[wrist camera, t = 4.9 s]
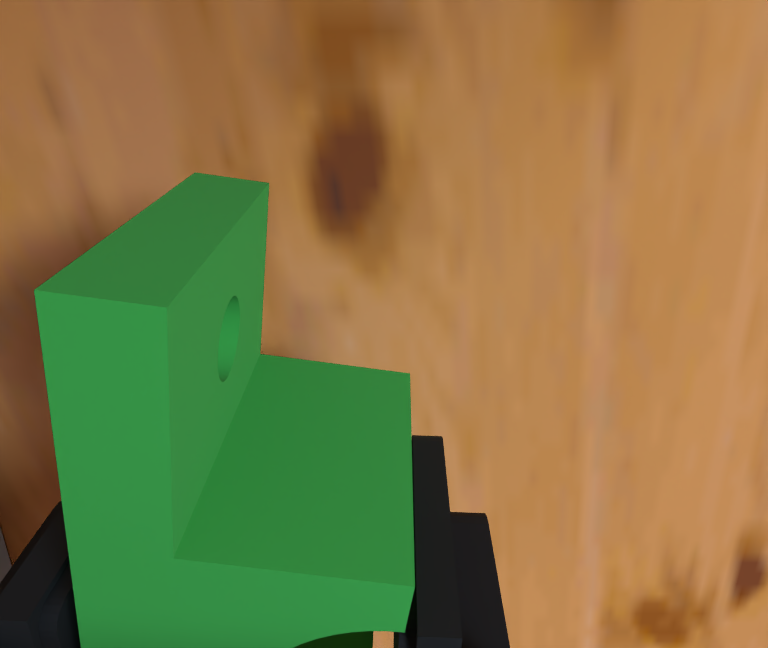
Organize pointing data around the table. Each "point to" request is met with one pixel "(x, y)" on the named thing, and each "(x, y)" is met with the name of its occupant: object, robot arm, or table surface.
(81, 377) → the pipe clamp
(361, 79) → the table surface
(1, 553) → the rail board
